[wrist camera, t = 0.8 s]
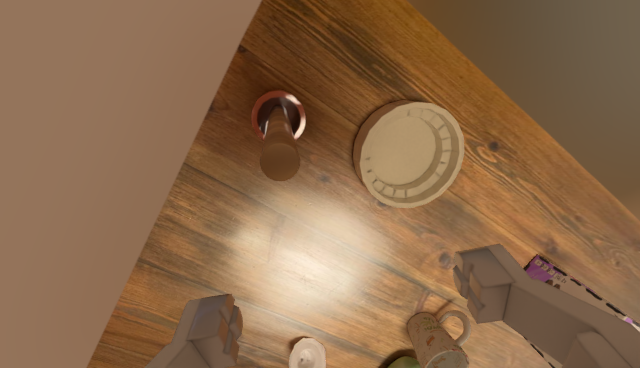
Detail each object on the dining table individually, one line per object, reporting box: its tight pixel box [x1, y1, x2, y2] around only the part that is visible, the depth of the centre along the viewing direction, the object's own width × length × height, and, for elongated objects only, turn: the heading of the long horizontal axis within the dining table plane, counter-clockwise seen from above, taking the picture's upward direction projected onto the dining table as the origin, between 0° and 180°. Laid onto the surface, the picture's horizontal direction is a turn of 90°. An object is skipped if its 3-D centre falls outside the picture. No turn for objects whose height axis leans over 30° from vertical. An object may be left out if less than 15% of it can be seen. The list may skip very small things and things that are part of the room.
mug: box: [407, 310, 471, 368], centre depth 55 cm, size 8×13×10 cm, turn 140°
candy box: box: [523, 255, 640, 368], centre depth 53 cm, size 14×6×16 cm, turn 146°
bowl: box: [353, 100, 464, 208], centre depth 45 cm, size 16×16×5 cm
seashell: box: [289, 338, 326, 368], centre depth 56 cm, size 8×5×8 cm
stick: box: [260, 105, 300, 181], centre depth 30 cm, size 2×2×26 cm
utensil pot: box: [251, 89, 306, 141], centre depth 39 cm, size 7×7×7 cm
